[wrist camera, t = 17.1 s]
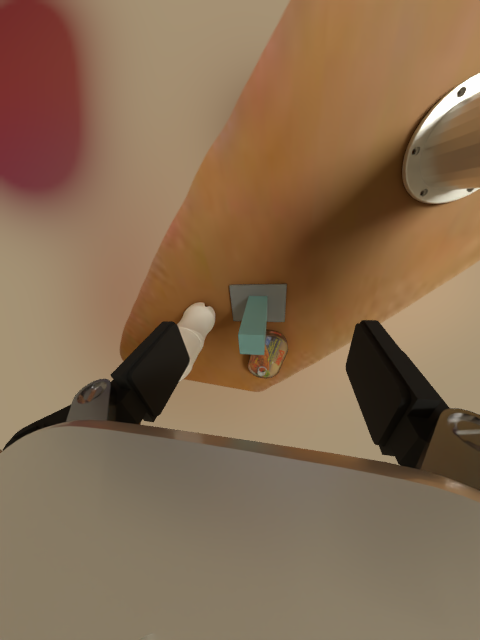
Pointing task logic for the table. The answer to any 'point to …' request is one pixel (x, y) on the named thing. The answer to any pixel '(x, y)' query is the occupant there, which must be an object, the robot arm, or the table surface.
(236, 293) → the mat
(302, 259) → the table surface
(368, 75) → the table surface
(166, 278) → the table surface
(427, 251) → the table surface
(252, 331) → the stick
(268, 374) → the tin
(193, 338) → the water bottle
